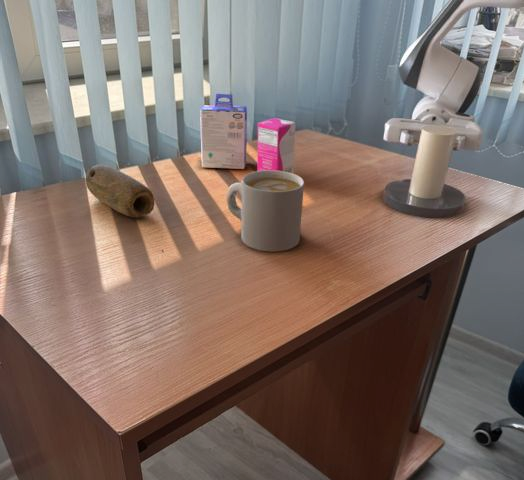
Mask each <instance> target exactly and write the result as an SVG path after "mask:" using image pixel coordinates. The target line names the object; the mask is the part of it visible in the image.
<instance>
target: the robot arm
mask: <svg viewBox="0 0 524 480" xmlns="http://www.w3.org/2000/svg"><path fill="white" fill-rule="evenodd" d="M487 7H488V8H500V9H511V10H513V9H521V8H522V9H523V8H524V0H448V1H447V2H446V3H445V4H444V6H443V7H442V9H441V10H440V11H439V12H438V13H437V15H436V16H435V17H434V19H433V20H432V21H431V22H430V23H429V25H427V27H426V28H425V29H424V31H423V32H422V33H421V34H420V35H419V36H418V37H417V39H415V40H414V41H413V42H412V43H411V44H410V45H409V46H408V48H407V49H406V50H405V52H404V54H403V55H402V56H401V59H400V62H399V65H398V73H399V76H400V79H401V82H402V84H403V85H404V86H407V87H409V88H412V89H414V90H417V91H419V92H421V93H422V94H424V95H425V96H424V97H423V98H421V99H420V100H419V101H418V103H417V104H416V105H415V107H414V108H413V111H412V114H411V118H403V117H391V118H390V119H388V120H387V122H385V124H383V129H384V132H383V141H385V142H387V143H393V144H394V143H395V144H404V146H407V147H412V146H413V145H415V146H418V145H419V140H420V135H421V131H422V128H423V127H424V126H431V125H436V126H445V127H449V128H452V129H455V130H456V131H457V136H456V140H455V144H454V148H453V151H455V152H459V151H460V150H462V151H463V150H464V151H473V152H475V151H478V150H479V149H480V147H481V144H482V140H483V136H484V131H483V129H482V127H481V126H480V124H479V123H477V122H476V121H475V119H476V118H475V116H474V115H471V114H467V113H466V112H467V111H468V109H469V108H471V105H472V104H473V102H474V101H475V99H476V98H477V95H478V93H479V91H480V88H481V84H482V72H481V68H480V66H478V65H477V64H475V63H473V62H472V61H469V60H468V59H467V58H464V57H463V56H461V55H459V54H457V53H455V52H453V51H452V50H449V49H448V48H447V47H445V46H443V45H442V44H441V42H442V41H443V40H444V39H445V37H446V36H447V35H448V33H450V32H451V30H452V29H453V28H454V27H455V25H456V24H457V23H458V22H459V21H460V19H461V18H462V17H463V16H464V15H465V14H466V13H467V12H469V11H470V10H473V9H478V8H487Z"/></svg>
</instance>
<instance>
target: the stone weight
mask: <svg viewBox="0 0 524 480" xmlns="http://www.w3.org/2000/svg"><path fill="white" fill-rule="evenodd" d="M85 185H86V188H87V189H88V191H89V192H90V193H91V194H92V195H93V197H95V199H97V200H98V201H100V202H102V203H103V204H104V205H106V206H108V207H109V208H111V209H113V210H114V211H116V212H118V213H120V214H121V215H124V216H127V217H130V218H140V217H143V216H147V215H149V214H150V213H152V211H153V210H154V206H155V197H154V194H153V192H152V191H151V189H150V188H149V187H148V186H147V185H145V184H143V183H142V182H141V181H139V180H137V179H136V178H134V177H132V176H130V175H128V174H126V173H124V172H123V171H121V170H119V169H116V168H114V167H113V166H110V165H106V164H95V165H93V166H91V167H90V168H89V169H88V171H87V173H86V175H85Z"/></svg>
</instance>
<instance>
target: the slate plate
mask: <svg viewBox="0 0 524 480" xmlns="http://www.w3.org/2000/svg"><path fill="white" fill-rule="evenodd" d="M410 182H411V178H406V179H405V178H404V179H397V180H393V181H390V182H389V183H387V184H386V185H385V186H384V189H383V194H382V199H383V201H384V203H385V204H386V205H387V206H389V207H390V208H392V209H394V210H395V211H398V212H401V213H402V214H403V213H404V214H406V215H410V216H415V217H422V218H430V219H431V218H433V219H442V218H443V219H444V218H450V217H454V216H457V215H459V214H461V213H462V212H463V211H464V209H465V206H466V203H467V196H466V195H465V193H463V191H462V190H460V189H458V188H456V187H454V186H452V185H449V184H446V183H444V187H443V191H442V195H441V197H439V198H436V199H424V198H419V197H416V196H413V195H412V194H410V193H409V187H410Z"/></svg>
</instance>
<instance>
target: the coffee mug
mask: <svg viewBox="0 0 524 480" xmlns="http://www.w3.org/2000/svg"><path fill="white" fill-rule="evenodd" d="M304 190H305V181H304V179H303V178H302V177H301V176H300V175H297V174H295V173H294V172H293V173H289V172H285V171H277V170H263V171H257V170H256V171H251V172H249V173H247V174H244V175H243V177H242V179H241V182H234V183H232V184H231V185H230V186H229V187H228V189H227V193H226V205H227V209H228V210H229V212H230V213H231V214H232V215H233V216H234V217H236V218H237V219H239V220H240V222H241V226H240V227H241V229H240V231H241V233H240V235H241V236H240V237H241V241H242V242H243V244H245V245H246V246H247V247H249V248H251V249H253V250H257V251H260V252H261V251H262V252H283V251H287V250H291V249H293V248H295V247H296V246H297V245H298V244H299V243H300V239H301V237H300V236H301V225H302V215H303V214H302V213H303V204H304V203H303V202H304ZM237 193H238V194H240V196H241V207H239V206H238V204H237V200H236V199H237V197H236V195H237Z"/></svg>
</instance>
